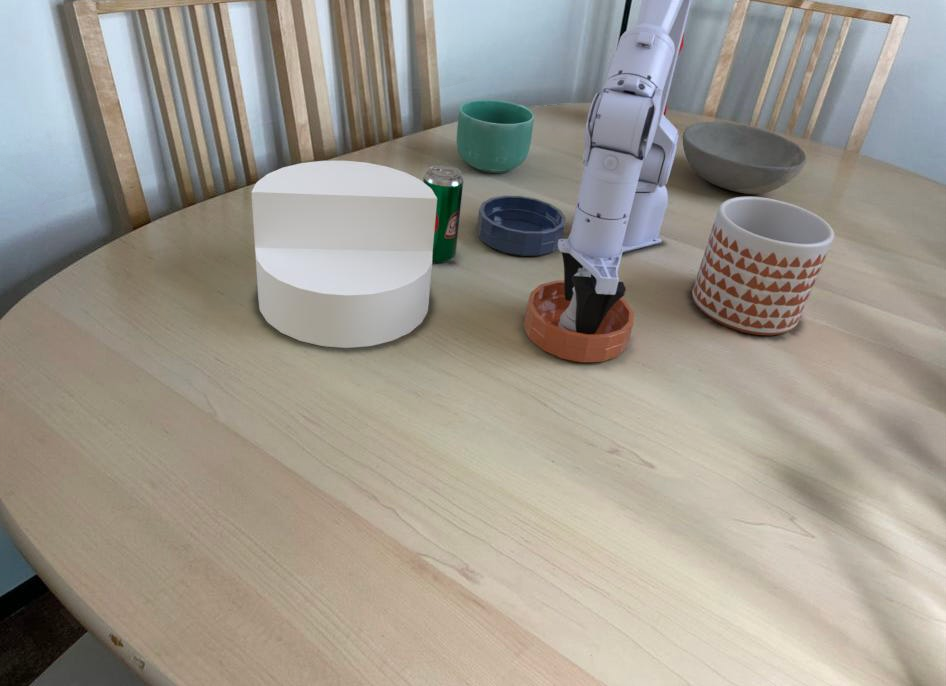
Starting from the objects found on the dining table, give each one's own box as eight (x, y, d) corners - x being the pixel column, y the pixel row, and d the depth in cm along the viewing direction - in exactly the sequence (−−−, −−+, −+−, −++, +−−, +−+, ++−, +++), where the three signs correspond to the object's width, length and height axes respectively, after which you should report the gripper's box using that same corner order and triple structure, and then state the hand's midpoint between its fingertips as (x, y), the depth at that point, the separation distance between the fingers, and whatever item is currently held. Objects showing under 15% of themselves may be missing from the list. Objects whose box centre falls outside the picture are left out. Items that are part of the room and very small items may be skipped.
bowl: (802, 185, 138) (818, 144, 133) (776, 221, 123) (793, 175, 118) (693, 153, 146) (705, 113, 142) (655, 183, 131) (667, 139, 126)
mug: (497, 186, 122) (505, 129, 117) (439, 162, 128) (444, 107, 123) (551, 163, 134) (561, 110, 128) (495, 142, 139) (502, 91, 134)
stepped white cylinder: (251, 348, 79) (242, 234, 71) (264, 257, 95) (258, 156, 87) (438, 347, 83) (448, 240, 75) (420, 260, 99) (427, 164, 91)
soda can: (450, 267, 98) (459, 181, 91) (413, 260, 98) (419, 174, 92) (458, 250, 102) (468, 167, 95) (423, 244, 103) (429, 160, 96)
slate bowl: (526, 213, 114) (530, 190, 112) (578, 248, 107) (583, 224, 104) (460, 227, 108) (463, 202, 106) (510, 264, 100) (514, 239, 98)
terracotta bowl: (580, 298, 95) (585, 272, 93) (648, 348, 87) (656, 321, 85) (503, 320, 89) (507, 293, 87) (569, 376, 81) (575, 348, 79)
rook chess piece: (553, 320, 89) (565, 261, 85) (590, 321, 90) (603, 263, 85) (560, 341, 86) (573, 281, 81) (598, 342, 86) (613, 283, 82)
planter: (723, 271, 105) (752, 187, 98) (815, 314, 98) (853, 227, 91) (671, 300, 97) (698, 210, 90) (766, 350, 89) (804, 256, 82)
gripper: (555, 178, 84) (536, 282, 92) (579, 236, 72) (555, 350, 80) (615, 182, 85) (592, 285, 93) (649, 241, 73) (619, 353, 81)
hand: (579, 315), depth 86 cm, fingers open, 6 cm apart
